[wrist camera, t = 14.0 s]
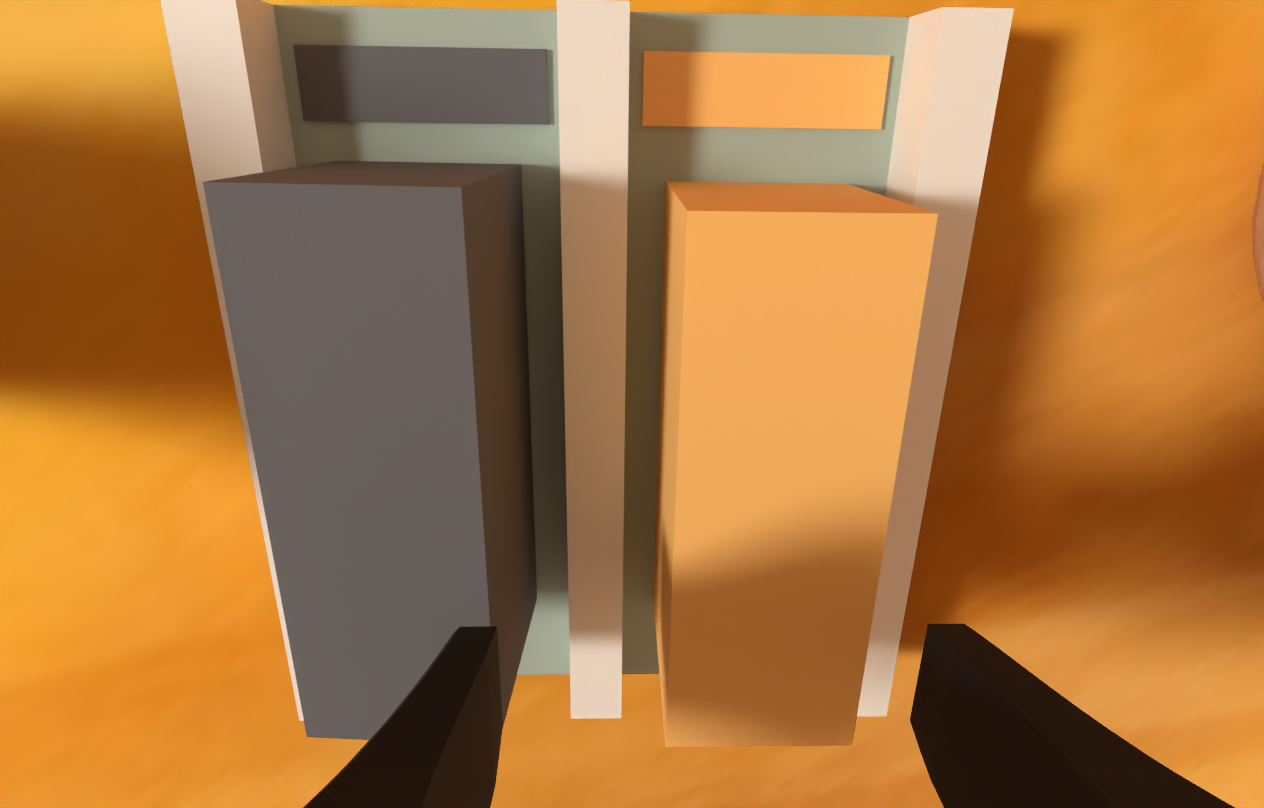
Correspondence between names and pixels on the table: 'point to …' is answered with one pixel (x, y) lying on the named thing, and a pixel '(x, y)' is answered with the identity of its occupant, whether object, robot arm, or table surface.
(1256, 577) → the table surface
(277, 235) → the dark grey block
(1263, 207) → the donut
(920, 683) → the robot arm
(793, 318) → the wooden block
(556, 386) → the comb board
